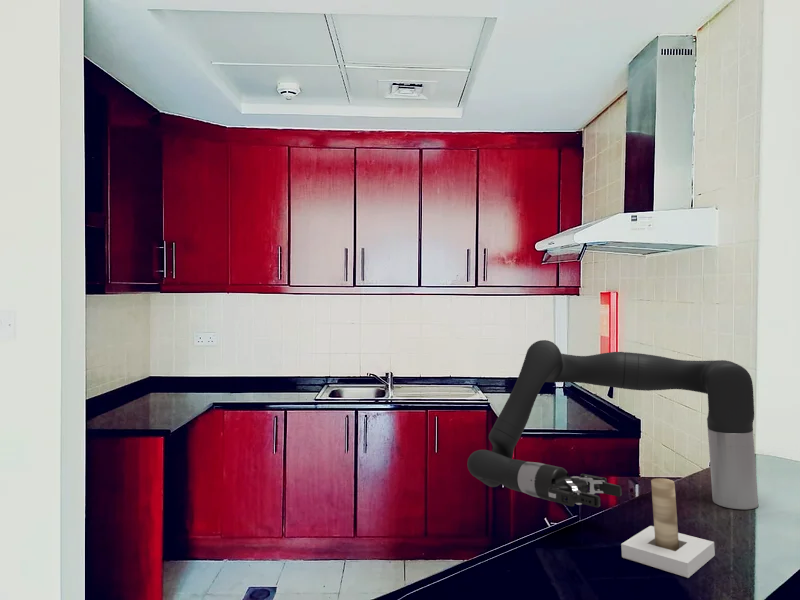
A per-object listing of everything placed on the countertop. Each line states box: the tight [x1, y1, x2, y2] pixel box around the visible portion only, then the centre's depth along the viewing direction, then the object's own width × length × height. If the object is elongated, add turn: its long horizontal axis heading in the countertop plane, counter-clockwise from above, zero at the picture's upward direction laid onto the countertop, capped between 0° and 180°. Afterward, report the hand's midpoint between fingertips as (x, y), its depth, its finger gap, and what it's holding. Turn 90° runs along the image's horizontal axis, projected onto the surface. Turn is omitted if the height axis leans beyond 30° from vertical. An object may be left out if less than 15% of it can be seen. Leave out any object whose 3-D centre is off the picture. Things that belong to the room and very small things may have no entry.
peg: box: [650, 477, 679, 551], centre depth 104 cm, size 4×4×14 cm
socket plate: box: [620, 525, 716, 579], centre depth 104 cm, size 12×12×2 cm
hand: (610, 496), depth 112 cm, fingers open, 8 cm apart
